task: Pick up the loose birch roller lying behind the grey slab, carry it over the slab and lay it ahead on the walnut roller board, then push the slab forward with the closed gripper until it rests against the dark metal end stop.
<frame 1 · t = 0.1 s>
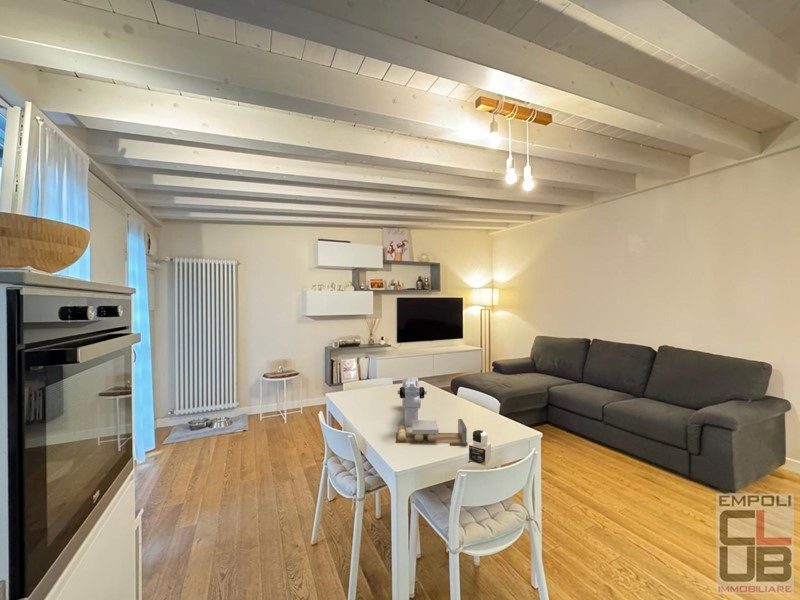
hand: (412, 395, 161), 22 cm above the table, tool horizontal, fingers open, 7 cm apart
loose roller: (401, 437, 162), point 1 cm above the table, touching roller board
slab: (424, 426, 162), point 6 cm above the table, slide at 0.0 cm
medicine bottle: (479, 460, 142), on the table
roller board: (430, 439, 162), on the table
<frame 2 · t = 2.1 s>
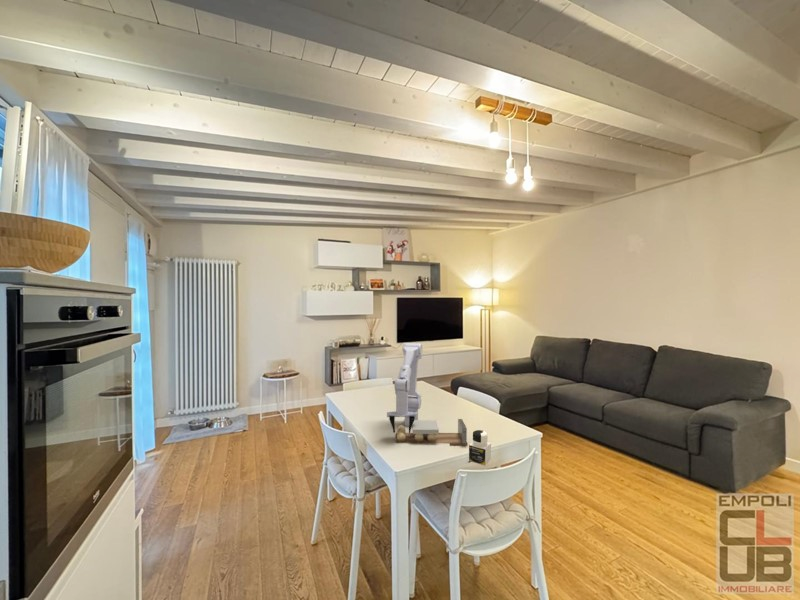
hand: (401, 431, 162), 4 cm above the table, tool pointing down, fingers open, 7 cm apart
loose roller: (401, 437, 162), point 1 cm above the table, tilted 9°, touching roller board
slab: (424, 426, 162), point 6 cm above the table, slide at 0.0 cm, touching gripper
everything else where it was.
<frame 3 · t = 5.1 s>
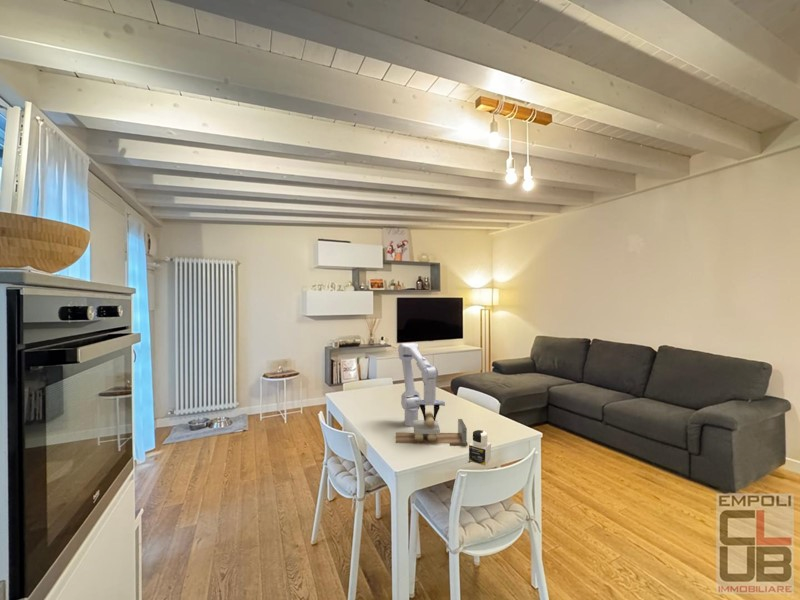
hand: (429, 420, 162), 9 cm above the table, tool pointing down, fingers closed on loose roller, 4 cm apart
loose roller: (429, 422, 162), point 8 cm above the table, touching gripper
slab: (426, 426, 162), point 6 cm above the table, slide at 0.6 cm
everything else where it was.
when the fingers open (3 cm above the table, at t = 7.3 s): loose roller drops 1 cm, resting on roller board.
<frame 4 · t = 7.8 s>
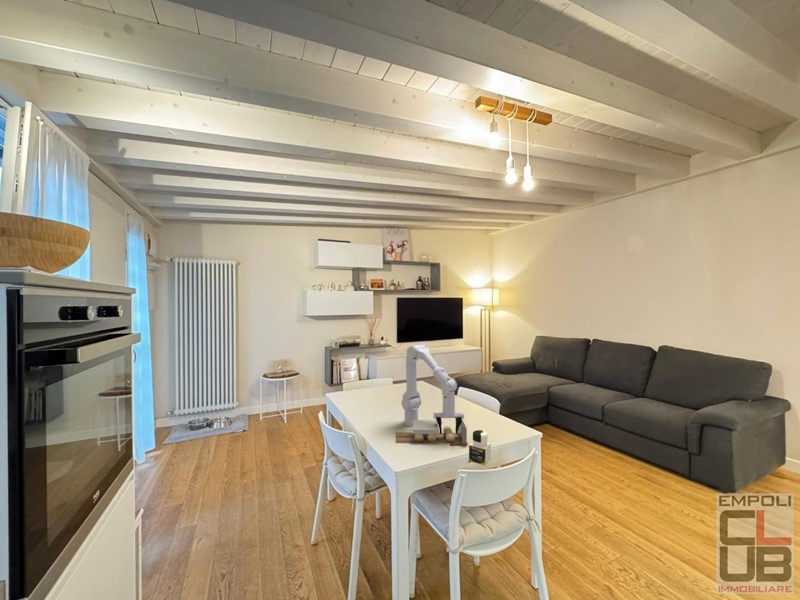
hand: (448, 432, 162), 3 cm above the table, tool pointing down, fingers open, 7 cm apart
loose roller: (448, 438, 162), point 1 cm above the table, tilted 6°, touching roller board
slab: (425, 426, 162), point 6 cm above the table, slide at 0.2 cm, touching gripper
everything else where it was.
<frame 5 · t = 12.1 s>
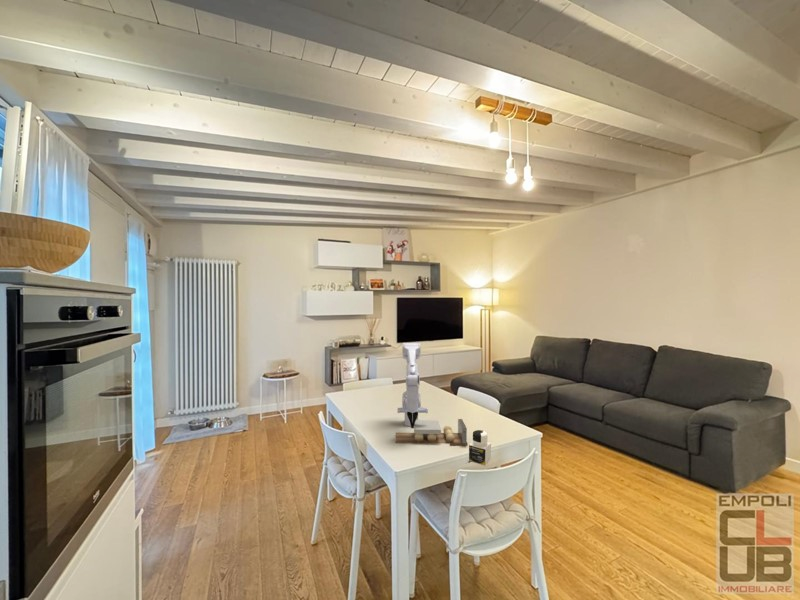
hand: (412, 427, 162), 6 cm above the table, tool pointing down, fingers closed
slab: (427, 426, 162), point 6 cm above the table, slide at 1.1 cm, touching gripper
everything else where it was.
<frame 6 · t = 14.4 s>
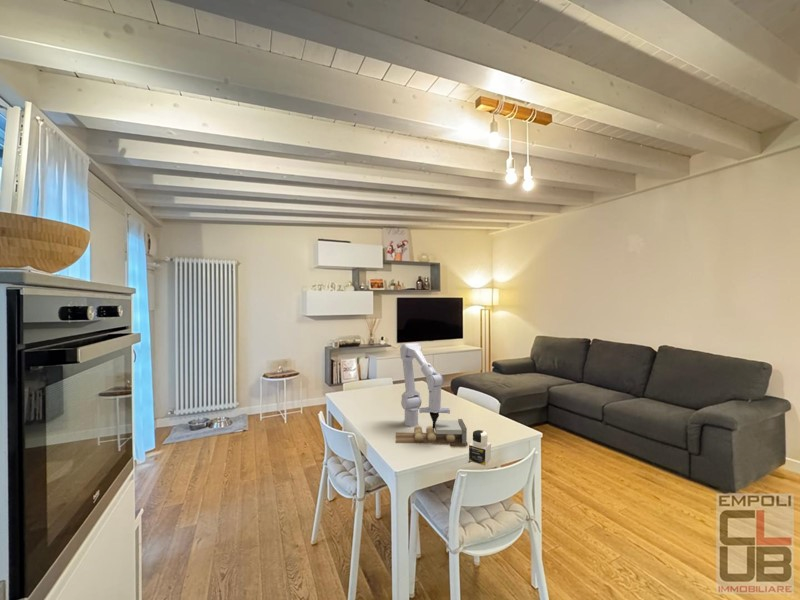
hand: (434, 427, 162), 6 cm above the table, tool pointing down, fingers closed, pressing on slab
slab: (447, 426, 162), point 6 cm above the table, slide at 10.8 cm, touching gripper
everything else where it was.
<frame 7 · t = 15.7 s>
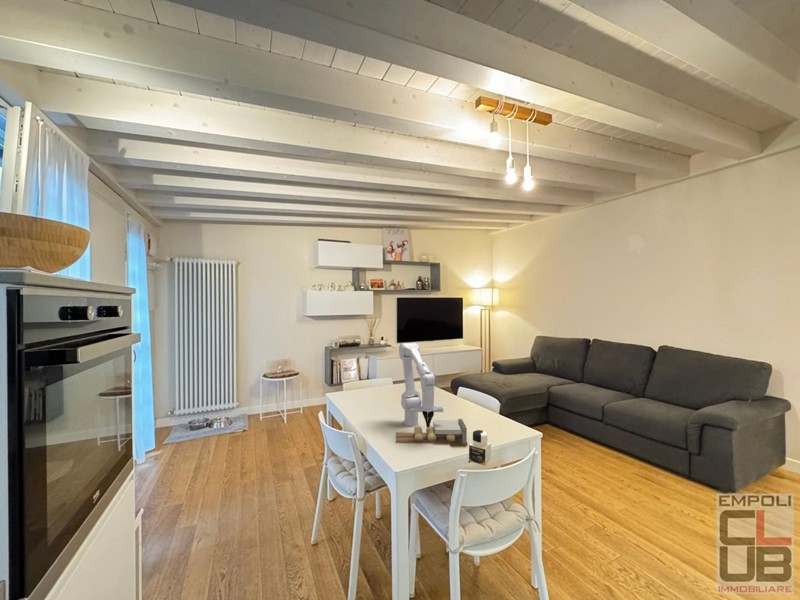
hand: (427, 426, 162), 6 cm above the table, tool pointing down, fingers closed
slab: (446, 426, 162), point 6 cm above the table, slide at 10.5 cm
everything else where it was.
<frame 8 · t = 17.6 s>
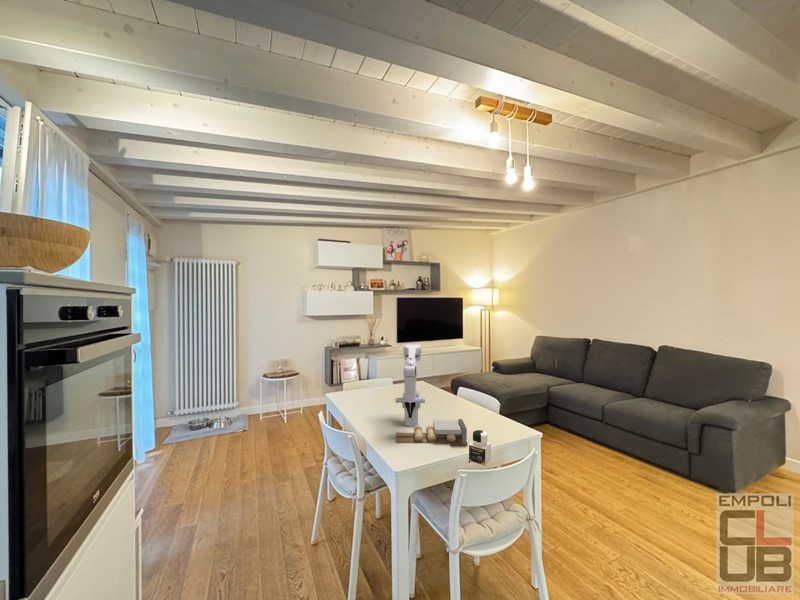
hand: (410, 417, 166), 9 cm above the table, tool pointing down, fingers closed
nothing on the table moved.
at the end: slab slide at 10.5 cm; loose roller inside the target area (0.5 cm from its centre), point 1.1 cm above the table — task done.
